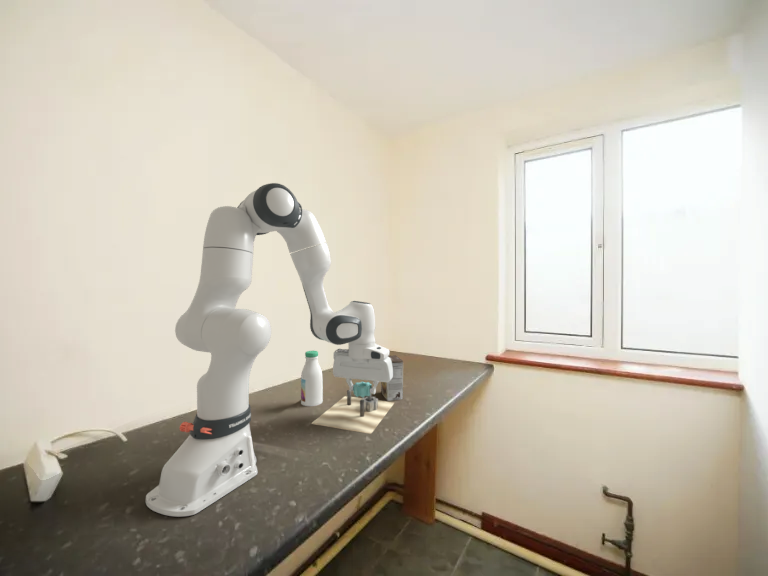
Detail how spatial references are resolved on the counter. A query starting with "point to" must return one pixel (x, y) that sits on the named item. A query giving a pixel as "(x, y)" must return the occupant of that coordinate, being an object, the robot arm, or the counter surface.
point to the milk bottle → (311, 381)
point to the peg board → (353, 415)
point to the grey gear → (370, 404)
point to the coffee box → (394, 381)
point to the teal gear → (362, 389)
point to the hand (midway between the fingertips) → (362, 392)
